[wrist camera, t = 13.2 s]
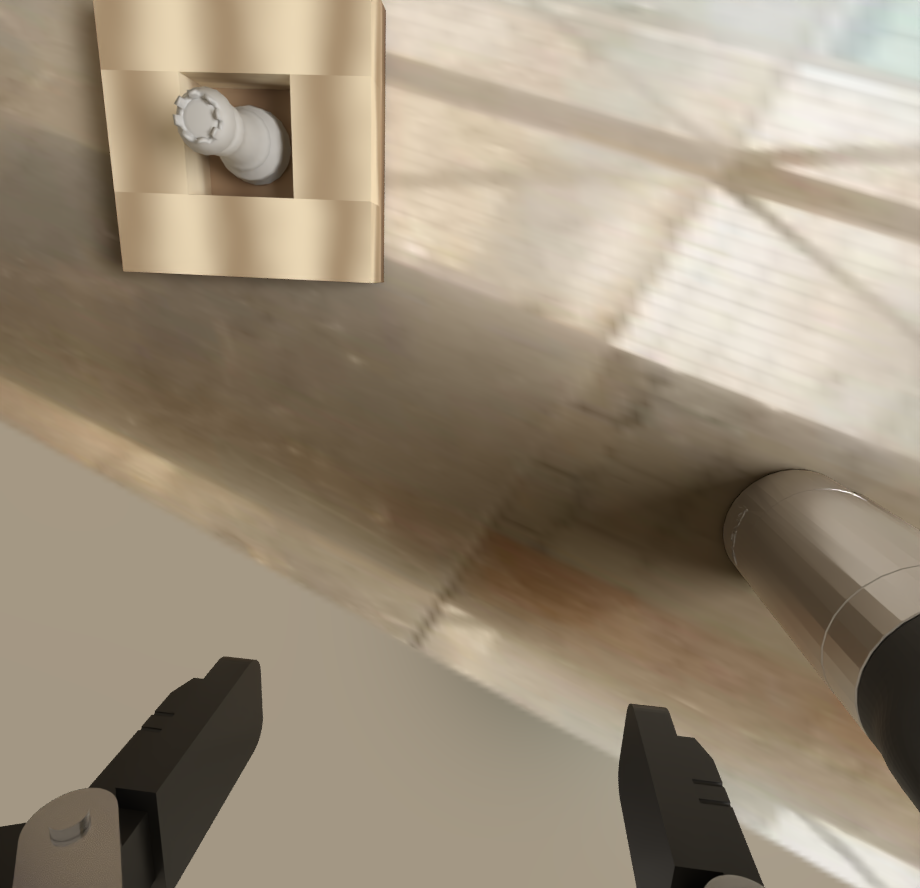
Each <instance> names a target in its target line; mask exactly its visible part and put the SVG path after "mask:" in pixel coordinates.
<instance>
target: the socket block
mask: <svg viewBox="0 0 920 888" xmlns="http://www.w3.org/2000/svg"><path fill="white" fill-rule="evenodd" d="M93 6H94V14H95V23H96V32H97V41H98V50H99V59H100V68H101V77H102V85H103V94H104V103H105V112H106V121H107V130H108V139H109V148H110V156H111V165H112V174H113V183H114V192H115V201H116V210H117V219H118V227H119V236H120V245H121V254H122V263H123V271H131V272H152V273H173V274H194V275H215V276H236V277H257V278H278V279H299V280H320V281H341V282H362V283H379V282H384V170H385V33H386V10H385V8H384V6H383V3H382V1H381V0H93ZM202 86H206V87H209V88H212V89H215V90H218V91H219V92H220V93H221V94H222V95H223V96H224V97H226V98H227V100H228V101H229V103H230V104H231V105H232V106H233V107H234V108H235V107H239V106H247V105H252V106H255V107H258V108H261V109H264V110H265V111H268V112H271V113H272V114H273V115H274V116H275V117H276V118H277V119H279V120H280V121H281V122H282V124H283V126H284V128H285V129H286V131H287V133H288V135H289V140H290V146H291V154H290V159H289V164H288V166H287V168H286V169H285V171H284V172H283V174H282V175H281V177H280V178H278V179H276V180H275V181H273V182H272V183H270V184H264V185H254V184H251V183H248V182H245V181H243V180H242V179H240V178H237V177H236V176H235V175H234V174H233V173H231V172H230V171H229V170H228V169H227V168H226V167H225V165H224V163H223V162H222V160H221V158H220V156H217V155H207V156H206V155H203V154H200V153H197V152H194V151H193V150H192V149H191V148H190V147H188V146H187V145H186V144H185V143H184V141H183V139H182V138H181V136H180V134H179V133H178V129H177V126H176V125H174V120H173V115H172V114H175V115H176V110H177V105H175V104H174V103H175V101H176V99H177V97H178V96H181V97H182V96H183V94H185V93H186V92H187V90H190V89H192V88H195V87H202Z"/></svg>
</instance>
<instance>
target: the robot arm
mask: <svg viewBox="0 0 920 888" xmlns="http://www.w3.org/2000/svg"><path fill="white" fill-rule="evenodd" d="M723 540H724V545H725V550H726V552H727V554H728V556H729V559H730V560H731V562H732V563H733V564H734V565H735V567H736V568H737V569H738V571H739V572H740V573H741V575H742V576H743V577H744V578H745V580H746V581H747V582H748V584H749V585H750V586H751V588H752V589H753V590H754V592H755V593H756V594H757V596H758V597H759V598H760V600H761V601H762V602H763V603H764V605H765V606H766V607H767V609H768V610H769V611H770V612H771V614H772V615H773V616H774V617H775V619H776V620H777V621H778V623H779V624H780V625H781V626H782V628H783V629H784V630H785V632H786V633H787V634H788V635H789V637H790V638H791V639H792V641H793V642H794V643H795V644H796V646H797V647H798V648H799V650H800V651H801V652H802V653H803V655H804V656H805V657H806V658H807V660H808V661H809V662H810V664H811V665H812V666H813V667H814V669H815V670H816V671H817V673H818V674H819V675H820V676H821V678H822V679H823V680H824V682H825V683H826V684H827V685H828V687H829V688H830V689H831V691H832V692H833V693H834V694H835V695H836V697H837V698H838V699H839V700H840V702H841V703H842V704H843V706H844V707H845V708H846V709H847V711H848V712H849V713H850V714H851V716H852V717H853V718H854V720H855V721H856V722H857V723H858V725H859V726H860V727H861V729H862V730H863V731H864V732H865V734H866V735H867V736H868V737H869V739H870V740H871V741H872V742H873V744H874V745H875V746H876V748H877V749H878V750H879V751H880V753H881V754H882V756H883V758H884V760H885V762H886V764H887V766H888V768H889V770H890V771H891V773H892V774H893V776H894V777H895V779H896V780H897V782H898V783H899V785H900V786H901V788H902V789H903V790H904V792H905V793H906V794H907V796H908V797H909V798H910V800H911V801H912V802H913V804H914V805H915V806H916V808H917V809H918V810H919V812H920V530H919V529H917V528H916V527H914V526H912V525H911V524H909V523H908V522H906V521H904V520H903V519H901V518H900V517H898V516H896V515H895V514H893V513H891V512H890V511H888V510H887V509H885V508H883V507H882V506H880V505H878V504H877V503H875V502H874V501H872V500H870V499H869V498H867V497H865V496H864V495H862V494H856V493H853V492H852V491H850V490H849V489H847V488H845V487H844V486H842V485H841V484H839V483H837V482H836V481H834V480H832V479H830V478H829V477H827V476H825V475H823V474H820V473H816V472H813V471H808V470H787V471H780V472H777V473H774V474H770V475H767V476H765V477H763V478H761V479H759V480H757V481H756V482H754V483H753V484H751V485H750V486H749V487H747V488H746V489H745V490H744V491H743V492H742V493H741V494H740V495H739V496H738V497H737V498H736V500H735V501H734V502H733V504H732V506H731V508H730V509H729V511H728V513H727V516H726V519H725V523H724V530H723ZM262 722H263V712H262V691H261V670H260V664H259V662H258V661H257V660H251V659H243V658H233V657H222V658H221V659H219V661H218V662H217V663H216V664H215V665H214V667H213V668H212V669H211V670H210V671H209V673H208V674H207V675H206V676H205V678H204V679H199V678H193V679H191V680H190V681H188V682H187V683H185V684H184V685H182V686H181V687H179V688H178V689H176V690H174V691H173V692H171V693H170V695H169V696H168V697H167V698H166V699H165V700H164V701H163V703H162V704H161V705H160V706H159V707H158V708H157V709H156V711H155V714H154V715H151V716H150V717H149V719H148V720H147V721H146V722H145V723H144V724H143V726H142V729H141V730H138V731H137V733H136V734H135V735H134V736H133V737H132V738H131V739H130V740H129V742H128V743H127V744H126V745H125V746H124V748H123V749H122V750H121V751H120V752H119V753H118V755H116V757H115V758H114V759H113V760H112V761H111V762H110V764H109V765H108V766H107V767H106V768H105V769H104V770H103V772H102V773H101V774H100V775H99V776H98V777H97V778H96V780H95V781H94V782H93V783H92V784H91V785H90V787H89V788H85V789H79V790H75V791H72V792H69V793H67V794H64V795H62V796H60V797H58V798H56V799H54V800H52V801H51V802H49V803H48V804H46V805H45V806H43V807H42V808H41V809H39V810H38V811H37V812H36V813H35V814H34V815H33V816H32V817H31V818H30V819H29V820H28V821H27V823H22V824H15V825H9V826H3V827H0V888H175V886H176V884H177V883H178V881H179V879H180V878H181V876H182V874H183V873H184V871H185V869H186V867H187V866H188V864H189V862H190V860H191V859H192V857H193V855H194V854H195V852H196V850H197V849H198V847H199V845H200V843H201V842H202V840H203V838H204V836H205V835H206V833H207V831H208V830H209V828H210V826H211V824H212V823H213V821H214V819H215V817H216V816H217V814H218V812H219V811H220V809H221V807H222V805H223V804H224V802H225V800H226V799H227V797H228V795H229V793H230V791H231V790H232V788H233V786H234V785H235V783H236V781H237V780H238V778H239V776H240V774H241V772H242V771H243V769H244V768H245V766H246V764H247V762H248V761H249V759H250V757H251V755H252V754H253V752H254V750H255V748H256V746H257V744H258V741H259V738H260V734H261V730H262ZM618 781H619V783H618V784H619V795H620V801H621V807H622V812H623V817H624V823H625V828H626V834H627V839H628V844H629V849H630V855H631V860H632V865H633V870H634V876H635V881H636V887H637V888H765V887H764V885H763V883H762V880H761V878H760V876H759V873H758V870H757V868H756V865H755V863H754V860H753V858H752V855H751V853H750V850H749V848H748V845H747V843H746V840H745V838H744V835H743V833H742V831H741V828H740V825H739V823H738V820H737V818H736V815H735V813H734V810H733V808H732V807H731V806H730V800H729V798H728V795H727V793H726V790H725V788H724V787H723V786H722V780H721V778H720V775H719V773H718V770H717V768H716V765H715V763H714V760H713V759H712V758H711V756H710V755H709V754H708V753H707V752H706V751H705V750H704V748H703V747H702V746H701V745H700V744H699V743H698V742H697V740H696V739H695V738H690V737H682V736H677V734H676V731H675V728H674V725H673V722H672V719H671V716H670V713H669V711H668V709H667V708H664V707H655V706H646V705H638V704H629V706H628V709H627V714H626V720H625V727H624V734H623V740H622V747H621V753H620V760H619V771H618Z"/></svg>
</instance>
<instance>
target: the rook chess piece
mask: <svg viewBox="0 0 920 888" xmlns="http://www.w3.org/2000/svg"><path fill="white" fill-rule="evenodd" d="M174 104H175V105H177V110H176V115H175V114H172V115H173V120H174V125H176V126H177V129H178V133H179V134H180V136H181V138H182V139H183V141H184V143H185V144H186V145H187V146H188V147H190V148H191V149H192V150H193V151H194V152H197V153H200V154H203V155H206V156H207V155H217V156H220V158H221V160H222V162H223V163H224V165H225V167H226V168H227V169H228V170H229V171H230V172H231V173H233V174H234V175H235V176H236V177H237V178H240V179H242V180H243V181H245V182H248V183H251V184H254V185H264V184H270V183H272V182H273V181H275V180H276V179H278V178H280V177H281V175H282V174H283V172H284V171H285V169H286V168H287V166H288V164H289V159H290V154H291V146H290V140H289V135H288V133H287V131H286V129H285V128H284V126H283V124H282V122H281V121H280V120H279V119H277V118H276V117H275V116H274V115H273V114H272V113H271V112H268V111H265V110H264V109H261V108H258V107H255V106H252V105H247V106H239V107H235V108H234V107H233V106H232V105H231V104H230V103H229V101H228V100H227V98H226V97H224V96H223V95H222V94H221V93H220V92H219V91H218V90H215V89H212V88H209V87H206V86H202V87H195V88H192V89H190V90H187V92H186V93H185V94H183V96H182V97H181V96H178V97H177V99H176V101H175V103H174Z"/></svg>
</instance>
